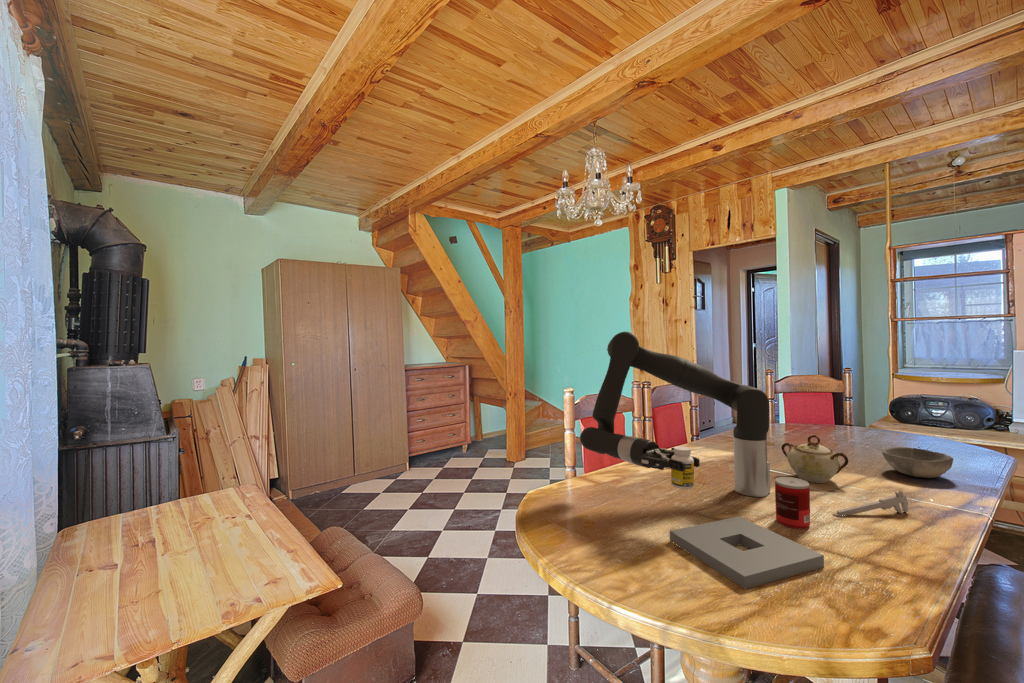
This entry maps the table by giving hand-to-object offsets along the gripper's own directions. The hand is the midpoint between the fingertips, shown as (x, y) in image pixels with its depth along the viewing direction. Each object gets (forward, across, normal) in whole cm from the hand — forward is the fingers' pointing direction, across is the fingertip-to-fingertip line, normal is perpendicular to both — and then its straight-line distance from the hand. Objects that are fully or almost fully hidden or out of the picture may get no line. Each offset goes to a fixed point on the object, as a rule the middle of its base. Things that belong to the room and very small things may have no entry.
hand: (691, 464), depth 110 cm
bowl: (+19, +99, +18) cm, 102 cm away
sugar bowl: (0, +69, +18) cm, 71 cm away
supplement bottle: (-3, 0, +6) cm, 7 cm away
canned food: (+12, +26, +18) cm, 34 cm away
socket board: (+12, 0, +18) cm, 21 cm away
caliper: (+21, +48, +18) cm, 56 cm away
